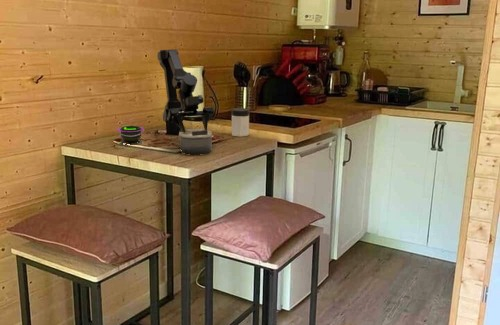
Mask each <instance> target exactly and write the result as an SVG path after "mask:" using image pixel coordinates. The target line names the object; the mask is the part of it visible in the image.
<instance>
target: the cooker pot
mask: <svg viewBox="0 0 500 325" xmlns="http://www.w3.org/2000/svg"><path fill="white" fill-rule="evenodd" d="M178 136H179V135H178ZM212 139H213V138H212V136H210V137H207V138H200V139H191V138H183V137H180V136H179V150H180V149H181V150H182V152H183V153H185V154H184V155H186V154H190V155H189V156H201V155H200V154H204V155H208V154H210V153H212V152H213V150H212V148H213V147H212V146H213V145H212V144H213V142H212Z"/></svg>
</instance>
